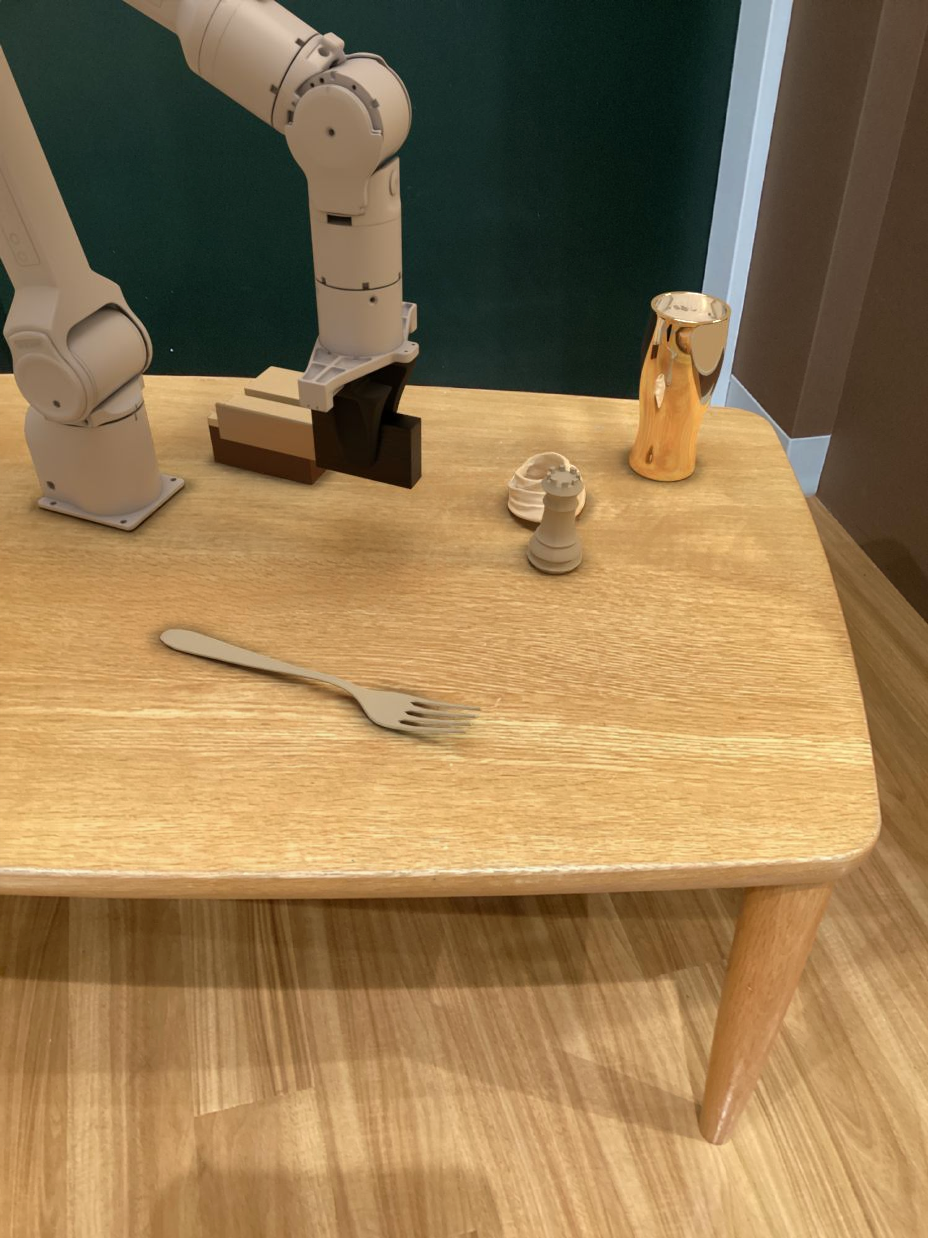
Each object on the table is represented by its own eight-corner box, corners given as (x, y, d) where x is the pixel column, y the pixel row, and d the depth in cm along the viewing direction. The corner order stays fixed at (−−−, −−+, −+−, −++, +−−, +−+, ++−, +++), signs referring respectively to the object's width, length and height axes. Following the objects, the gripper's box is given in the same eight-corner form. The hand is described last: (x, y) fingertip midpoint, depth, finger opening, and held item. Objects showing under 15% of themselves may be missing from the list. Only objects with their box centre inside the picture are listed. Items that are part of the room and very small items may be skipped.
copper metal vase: (710, 459, 86) (746, 302, 77) (682, 492, 82) (716, 330, 72) (642, 438, 89) (668, 283, 79) (611, 469, 85) (634, 309, 75)
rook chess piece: (579, 580, 72) (590, 493, 67) (522, 572, 73) (529, 485, 67) (584, 547, 75) (596, 462, 70) (530, 539, 76) (538, 454, 71)
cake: (214, 461, 84) (206, 417, 81) (243, 436, 88) (236, 392, 85) (312, 484, 81) (307, 439, 79) (337, 457, 85) (334, 413, 82)
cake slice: (249, 430, 88) (243, 387, 86) (276, 408, 92) (271, 365, 89) (343, 451, 86) (340, 407, 83) (366, 427, 90) (364, 384, 87)
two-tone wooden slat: (422, 476, 70) (421, 417, 67) (411, 489, 68) (410, 429, 65) (228, 431, 74) (219, 373, 71) (214, 443, 73) (204, 384, 70)
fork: (175, 621, 67) (171, 602, 66) (484, 722, 60) (485, 703, 59) (147, 648, 65) (142, 629, 64) (464, 756, 58) (465, 737, 57)
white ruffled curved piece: (569, 547, 77) (580, 501, 73) (492, 525, 78) (499, 479, 74) (590, 492, 82) (600, 447, 79) (518, 472, 83) (525, 427, 80)
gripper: (364, 325, 54) (373, 517, 63) (455, 248, 65) (452, 423, 73) (260, 305, 56) (283, 495, 65) (365, 234, 66) (372, 405, 75)
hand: (367, 455), depth 69 cm, fingers closed on two-tone wooden slat, 2 cm apart
